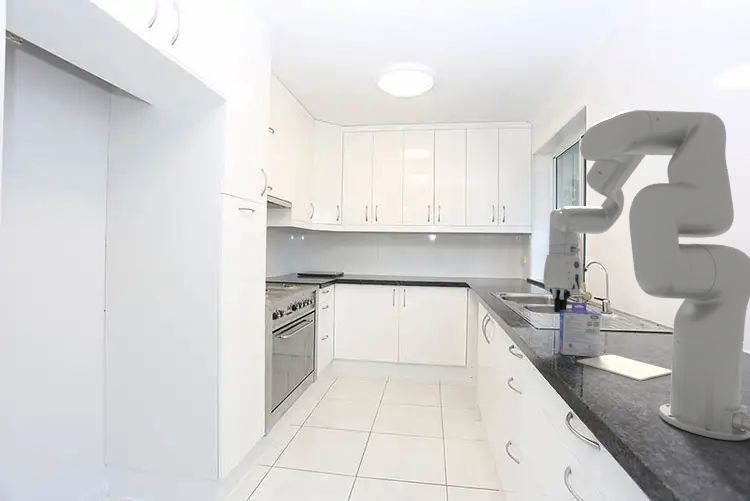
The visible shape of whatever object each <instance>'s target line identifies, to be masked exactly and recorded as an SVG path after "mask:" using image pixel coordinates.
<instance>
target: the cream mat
mask: <svg viewBox="0 0 750 501" xmlns="http://www.w3.org/2000/svg"><path fill="white" fill-rule="evenodd" d="M576 362H577V363H580V364H583V365H587V366H590V367H593V368H596V369H600V370H604V371H607V372H609V373H613V374H616V375H619V376H622V377H625V378H629V379H632V380H636V381H640V382H641V381H645V380H650V379H654V378H658V377H662V376H666V375H671V369H669V368H664V367H661V366H658V365H654V364H649V363H646V362H643V361H638V360H634V359H631V358H627V357H623V356H619V355H616V354H606V355H599V357H589V358H587V357H586V358H583V359H578V360H576Z"/></svg>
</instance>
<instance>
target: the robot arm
mask: <svg viewBox="0 0 750 501" xmlns="http://www.w3.org/2000/svg"><path fill="white" fill-rule="evenodd" d="M726 131H727V130H726V126H725V123H724V121H723V120H722V118H720V116H718V115H716V114H715V113H712V112H706V111H705V112H704V111H679V110H678V111H676V110H674V111H673V110H647V109H646V110H645V109H630V110H625V111H622V112H619V113H616V114H614V115H612V116H610V117H607V118H604V119H602V120H600V121H596V122H595V123H594V124H592V125H591V126H590V127H589V128H588V129H587V130H586V132H584V134H583V135H582V138H581V142H580V146H579V150H580V151H579V152H580V155H581V157H582V158H583V159H584V160H587V161H588V162H589V161H591V162H593V164H592V166H591V167H590V169H589V171H588V172H587V174H586V178H585V179H586V184H588V186H589V187H590V189H592V190H593V191H594V192H596V193H598V194H599V195H601V196H603V197H605V198H606V199H605V200H604V201H603V202H602V204H601V205H600V206H586V205H585V206H583V205H582V206H581V205H580V206H577V205H576V206H574V205H572V206H571V205H570V206H569V205H567V206H562V207H561V208H559V209H558V208H557V209H553V210H552V211H551V212H550V214H549V232H548V233H549V235H548V236H549V237H548V254H547V255H546V258H545V263H544V269H543V285H544V290H545V291H546V292H549V293H550V294H551V295H552V298H553V299H554V306H553V308H554V313H559V314H560V310H567V307H568V306H567V305H568V304H567V302H568V300H569V299H570V297H571V296H572V295H579V289H581V288H582V285H583V284H582V283H583V282H582V280H583V279H582V278H583V277H582V265H581V263H582V262H581V259H580V256H579V255H578V254H577V253H579V252H580V251H581V250H580V249H581V248H580V247H578V234H592V235H598V234H599V235H600V234H604V233H605V232H607V231H609V230H610V229H611V228H612V227H613V226H614V224H615V223H616V222H617V221H618V219H619V218H620V217H621V215H622V214H623V211H624V205H625V195H624V191H623V190H622V188H623V186H624V185H625V184H626V182H627V181H628V180H629V178H630V177H631V176H632V174H633V173H634V171H635V170H636V169H637V167H638V166H639V165H640V164H641V162H642V161H643V160H644V158H645V157H646V156H671V158H669V162H668V164H667V173H666V174H667V179H668V183H667V182H659V183H653V184H652V183H651V184H649V185H647V186H644V187H643V188H641V189H640V190H639V191H638V192H637V193H636V194H635V196H634V197H633V199H632V201H631V204H630V207H629V208H630V209H629V212H628V213H629V214H628V215H629V216H628V219H629V222H628V223H629V234H630V241H631V242H630V243H631V251H632V253H631V254H632V263H633V269H634V275H635V279H636V282H637V284H638V286H639V288H640V289H641V290H642V291H643V292H644V293H645V294H647V295H648V296H651V297H653V298H661V299H679V300H680V299H681V300H683V299H684V300H683V302H681V305H680V306H679V308H677V309H678V310H677V312H676V314H675V315H674V320H673V331H672V346H671V347H672V348H671V350H672V351H671V368H670V370H671V374H670V392H669V394H670V395H669V403H665V404H662V405H660V407H659V408H658V414H659V417H661V419H662V420H664V421H665V423H668V424H670V425H671V426H673V427H675V428H679V429H681V430H682V431H686V432H689V433H692V434H695V435H699V436H702V437H707V438H711V439H716V440H722V441H723V440H724V441H745V440H748V439H750V414H749V413H748V406H747V405H744V404H741V390H742V371H743V354H744V353H743V351H744V350H743V349H744V341H745V339H744V338H745V327H746V326H745V324H746V317H747V316H746V315H747V309H748V305H749V301H750V256H748V254H746V253H745V252H743V251H742V250H740V249H738V248H735V247H732V246H728V245H724V244H711V243H709V244H708V243H707V244H706V243H680V241H679V238H688V239H689V238H692V239H693V238H694V239H701V238H702V239H703V238H704V239H705V238H715V237H718V236H721V235H724V234H726V233H727V232H728V231H729V230H730V229H731V227H732V225H733V223H734V218H735V217H734V216H735V214H734V213H735V212H734V211H735V210H734V203H733V197H732V189H731V183H730V182H731V181H730V177H729V170H728V165H727V160H726V159H727V157H726V149H727V148H726V146H727V132H726Z"/></svg>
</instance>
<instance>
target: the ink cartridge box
mask: <svg viewBox="0 0 750 501" xmlns="http://www.w3.org/2000/svg"><path fill="white" fill-rule="evenodd" d="M577 306H581V307H577ZM601 316H602V315H601V314H600V312H597V311H591V310H587V307H586V303H585V302H573V301H572V302H571V310H567V309H566V310H560V313H559V337H558V339H559V340H558V343H559V344H558V351H559V353H560V354H561V355H563V356H565V355H566V356H579V357H580V356H581V357H589V358H593V357H599V356H600V338H601V318H602V317H601Z"/></svg>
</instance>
